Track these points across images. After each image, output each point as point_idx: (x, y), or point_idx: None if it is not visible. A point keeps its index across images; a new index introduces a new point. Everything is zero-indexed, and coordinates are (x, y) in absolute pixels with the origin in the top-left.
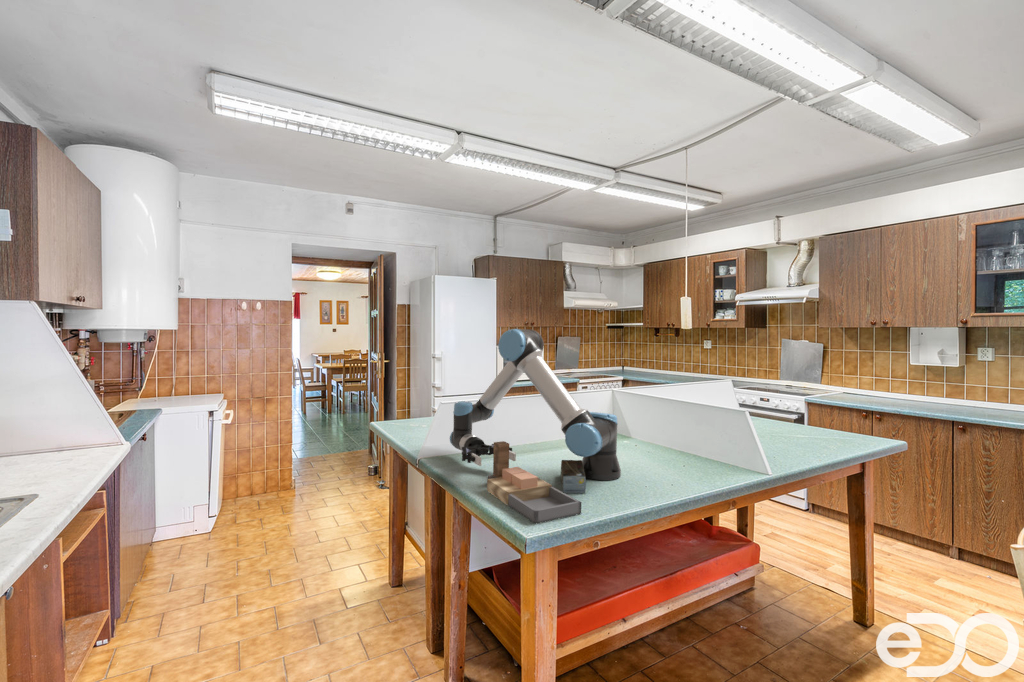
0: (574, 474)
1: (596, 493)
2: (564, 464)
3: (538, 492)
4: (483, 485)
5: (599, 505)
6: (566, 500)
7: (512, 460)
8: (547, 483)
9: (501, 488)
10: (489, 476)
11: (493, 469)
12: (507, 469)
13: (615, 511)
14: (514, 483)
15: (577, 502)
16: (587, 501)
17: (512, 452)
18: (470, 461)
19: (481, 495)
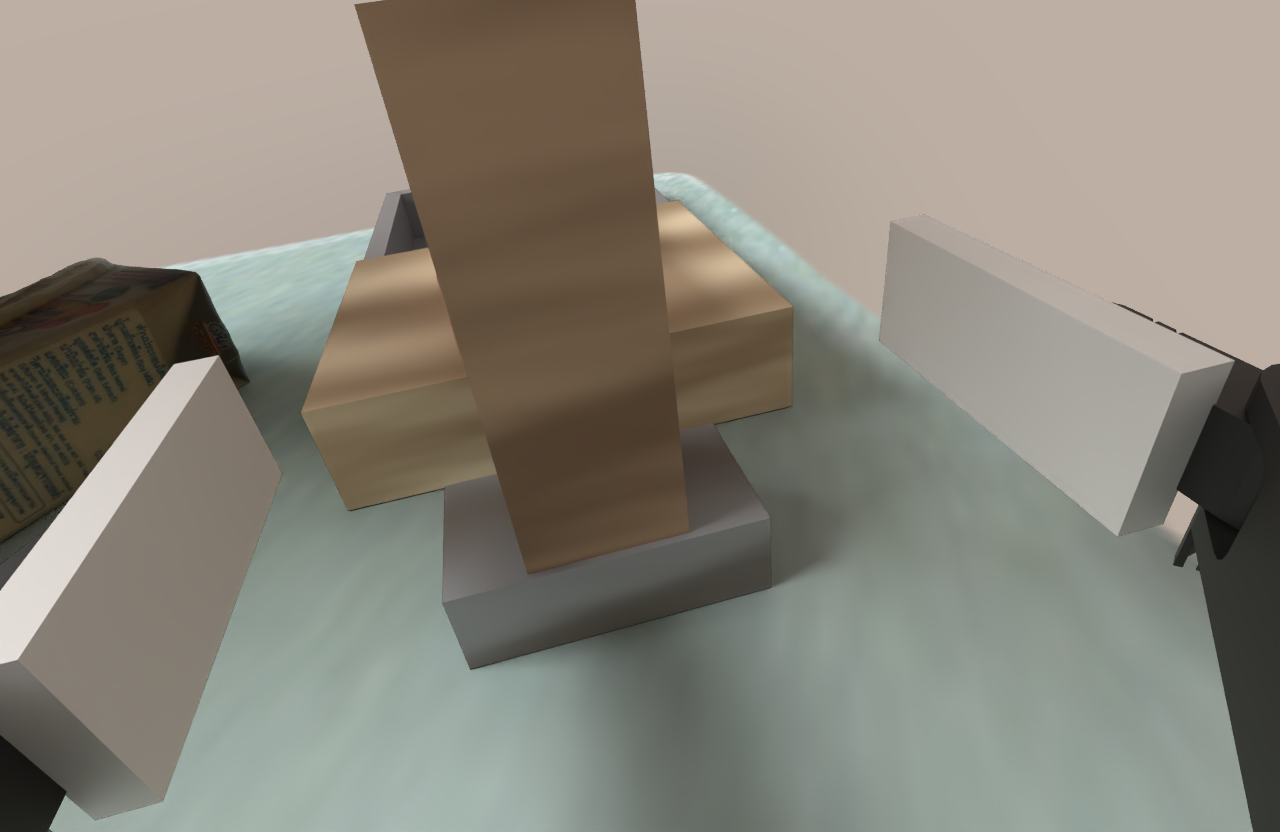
0: (99, 281)
1: None
2: None
3: None
4: (825, 520)
5: (254, 285)
6: (402, 236)
7: (271, 502)
8: (362, 271)
9: (703, 225)
10: (748, 491)
11: (680, 463)
12: None
13: (258, 259)
14: None
15: (405, 190)
16: (256, 307)
17: (166, 405)
18: (1186, 536)
19: (842, 356)
